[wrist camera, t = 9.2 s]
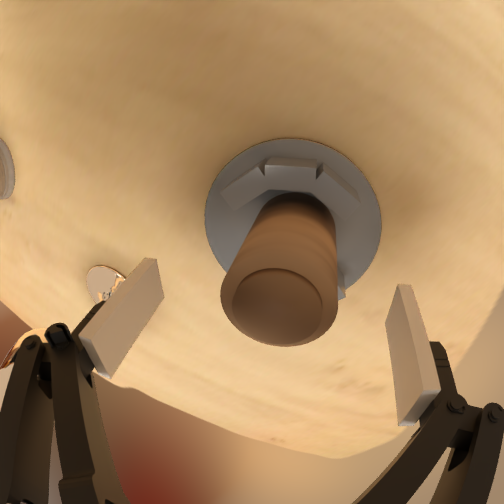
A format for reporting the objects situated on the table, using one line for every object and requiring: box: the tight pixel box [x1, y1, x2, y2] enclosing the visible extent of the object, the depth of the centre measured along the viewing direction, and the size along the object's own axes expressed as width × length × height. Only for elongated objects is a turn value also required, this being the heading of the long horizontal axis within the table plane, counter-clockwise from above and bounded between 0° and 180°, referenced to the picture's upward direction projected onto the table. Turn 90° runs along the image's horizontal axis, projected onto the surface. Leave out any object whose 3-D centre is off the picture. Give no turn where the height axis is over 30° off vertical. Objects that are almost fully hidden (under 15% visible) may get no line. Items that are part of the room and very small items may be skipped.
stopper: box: [220, 192, 338, 347], centre depth 19 cm, size 6×6×10 cm
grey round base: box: [205, 138, 381, 300], centre depth 22 cm, size 14×14×4 cm
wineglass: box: [0, 266, 125, 423], centre depth 24 cm, size 8×8×20 cm
